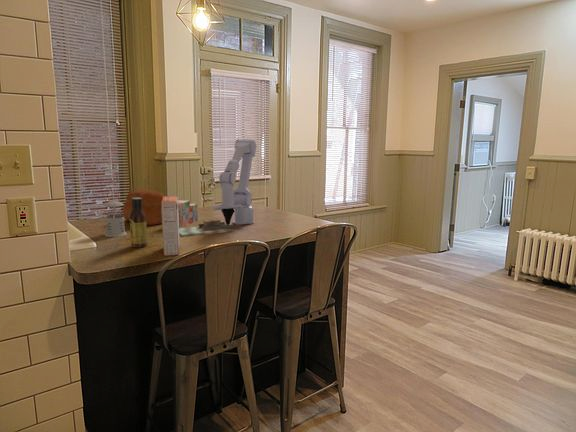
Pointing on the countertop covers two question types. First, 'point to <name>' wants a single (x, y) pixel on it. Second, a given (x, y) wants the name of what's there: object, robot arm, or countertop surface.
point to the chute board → (199, 231)
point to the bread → (145, 205)
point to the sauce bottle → (138, 224)
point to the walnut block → (211, 222)
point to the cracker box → (170, 225)
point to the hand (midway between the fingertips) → (227, 223)
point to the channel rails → (214, 227)
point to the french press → (114, 220)
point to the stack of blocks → (187, 213)
